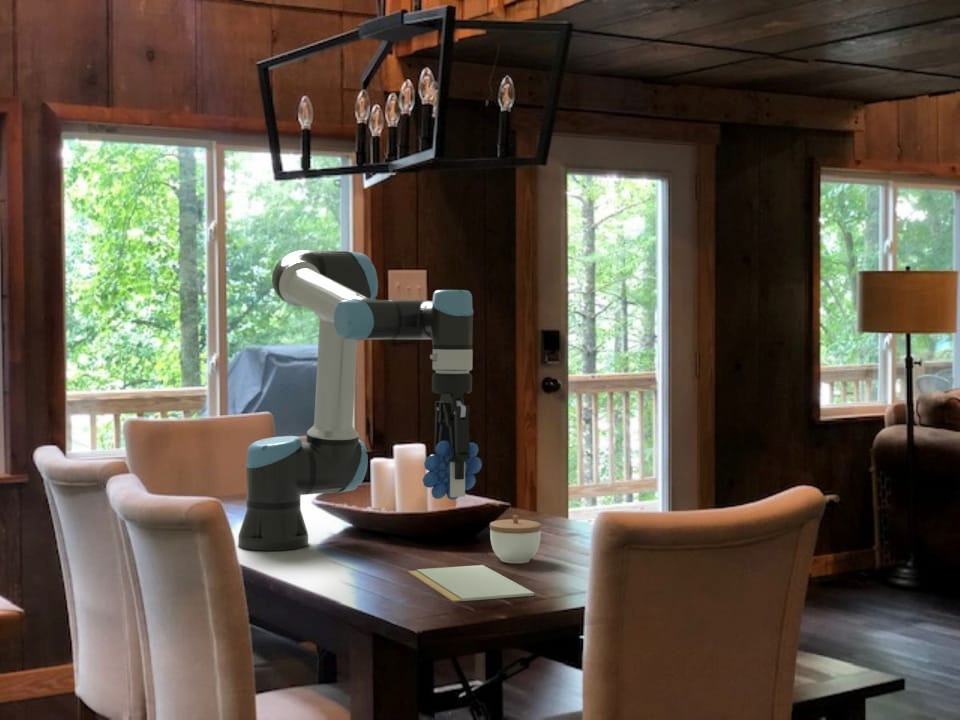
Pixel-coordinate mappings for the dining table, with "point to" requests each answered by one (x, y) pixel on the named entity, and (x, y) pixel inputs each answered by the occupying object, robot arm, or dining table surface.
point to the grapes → (448, 470)
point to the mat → (474, 583)
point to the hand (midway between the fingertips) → (451, 493)
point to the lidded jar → (515, 539)
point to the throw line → (435, 586)
